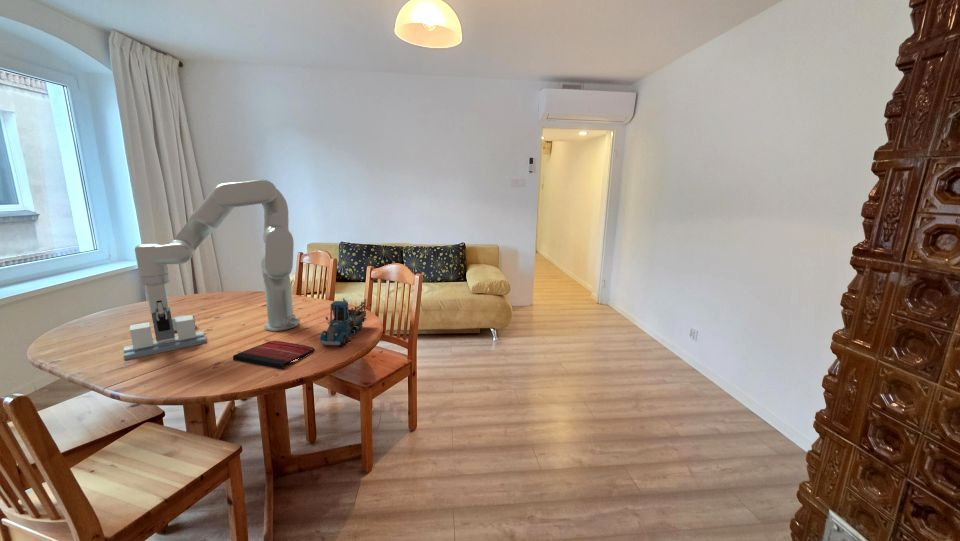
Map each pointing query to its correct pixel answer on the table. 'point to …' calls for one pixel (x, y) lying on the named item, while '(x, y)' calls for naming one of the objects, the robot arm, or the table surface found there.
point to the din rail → (163, 342)
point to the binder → (274, 354)
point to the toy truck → (343, 323)
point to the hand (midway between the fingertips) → (163, 327)
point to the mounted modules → (144, 336)
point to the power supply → (175, 322)
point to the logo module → (163, 334)
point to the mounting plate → (163, 347)
